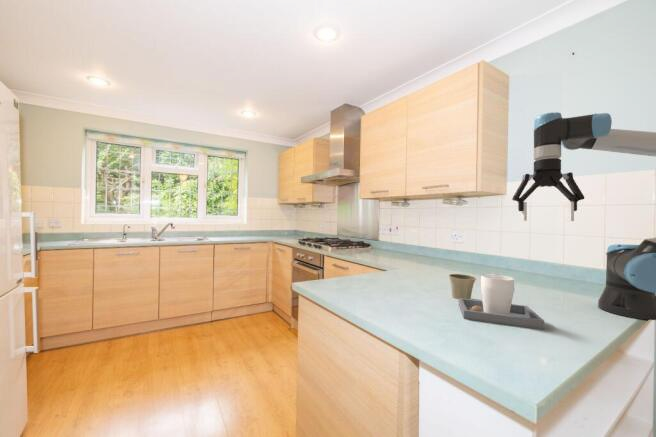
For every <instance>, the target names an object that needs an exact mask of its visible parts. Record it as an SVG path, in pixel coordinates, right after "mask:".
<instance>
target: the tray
mask: <svg viewBox="0 0 656 437" xmlns="http://www.w3.org/2000/svg"><path fill="white" fill-rule="evenodd" d="M475 305H477V306H480V307H481V308H482V309H483V301H482V300H479V299H472V298H471V299H463V298H459V299H458V307H459V310H460V312H461V316H462V318H463V319H464V320H469V321H470V320H471V321H479V322H484V323H492V324H499V325H507V326H514V327H522V328H527V329H528V328H530V329H536V330H537V329H538V330H545V320H544V319H542V318H541V317H540V316H539V315H538V314H537V313H536V312H535V311H533V309H531V308H530V307H529V306H528V305H525V304H524V305H522V304H515V303H514V304H513V303H511V308H510V313H509V315H503V314H495V313H487V312H479V311H471V308H472V307H473V306H475ZM483 311H484V310H483Z"/></svg>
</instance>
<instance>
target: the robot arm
mask: <svg viewBox="0 0 656 437" xmlns="http://www.w3.org/2000/svg"><path fill="white" fill-rule="evenodd" d="M562 148H564V149H567V150H569V151H575V150H579V149H581V150H582V149H583V150H584V149H585V150H593V151H603V152H610V153H619V154H620V153H621V154H628V155H629V154H630V155H638V156H639V155H640V156H646V157H656V131H645V130H644V131H643V130H630V129H620V128H619V129H618V128H617V129H616V128H612V116H611V114H609V113H608V112H602V113H596V112H595V113H592V114H586V115H579V116H573V117H563V115H562V113H561V112H557V111H556V112H555V111H554V112H553V111H552V112H547V113H543V114H541V115H538V116H537V117H536V118H535V119H534V125H533V160H534V162H533V174H529V173H525V174H523V175H522V180H521V182H520V184H519V186H518V188H517V189H516V191H515V193H514V194H513V196H512V199H511V200H512V201H515V202H517V207H518V208H517V209H518V212H521V214H520V216H521V221H522V222H524V221H525V222H526V221H527V218H528V216H527V214H528V211H527V206H528V203H527V202H526V200H527V198H529V197H530V195H532V193H534V191H535V190H536V189H537V188H538V187H539V188H541V187H542V188H543V187H550V188H551V187H554V188H556V189H557V190H558V191H559V192H560V193H561V194H562V195H563V196H564V197H565V199H567V200H568V201H567V202H566V222H574V221H575V212H577V210H578V202H579V201H581V200H585V195H584V194H583V192H582V190H581V189H580V187H579V186H578V184H577V182H576V180H575V179H574V175H573V174H574V173H573V172H571V171H570V172H566V173H562V159H561V157H562ZM562 178H563V180H565V182H566V184H567V186H568V187H569V189H570V190H569V189H568V187H566V186H565V185H564V183H563V182H562V181H561V179H562ZM531 180H533V181H534V182H533V183H532V185H531V186H530V187H529V188H528V189H527V190H526V191H525V192H524V193H523V191H524V190H525V189H526V186H527V185H528V183H529V181H531ZM522 193H523V194H522ZM605 255H606V268H605V270H606V272H605V286H604V289H603V291H602V293H601V295H600V297H599V298H598V303H597V307H598V309H600V310H602V311H606V312H608V313H612V314H615V315H618V316H623V317H626V318H628V317H629V318H631V319H632V318H634V319H639V320H647V321H648V320H649V321H656V236H655V237H651V238H650V237H649V238H645V239H643V241H642V242H641V243H640V244H624V243H623V244H620V243H619V244H618V243H617V244H610V245H609V246H608V247H607V250H606V252H605Z"/></svg>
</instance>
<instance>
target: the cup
mask: <svg viewBox="0 0 656 437" xmlns="http://www.w3.org/2000/svg"><path fill="white" fill-rule="evenodd" d="M514 292H515V278H514V277H513V276H512V277H511V276H508V275H504V274H503V275H501V274H494V273H484V274H481V278H480V293H481V299H482V300H481V301H483V310H484V312H487V313H495V314H503V315H509V313H510V308H511V304H513V303H512V302H513V298H514Z"/></svg>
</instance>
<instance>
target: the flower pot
mask: <svg viewBox="0 0 656 437" xmlns="http://www.w3.org/2000/svg"><path fill="white" fill-rule="evenodd" d="M448 277H449V280H450V285H451V286H450V288H451V297H452V299H457V300H459V298H463V299H472V292H473V289H474V284H475V281H476V280H477V278H476V276H473V275H468V274H464V273H463V274H461V273H459V274H458V273H451V274H448Z"/></svg>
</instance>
